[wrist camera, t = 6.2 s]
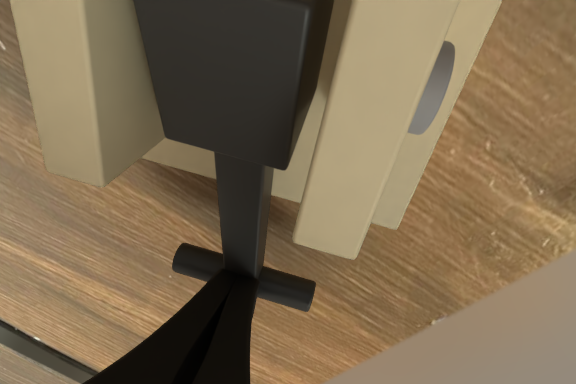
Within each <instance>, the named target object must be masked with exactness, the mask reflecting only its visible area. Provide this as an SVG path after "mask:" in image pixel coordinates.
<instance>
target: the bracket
mask: <svg viewBox="0 0 576 384" xmlns="http://www.w3.org/2000/svg"><path fill="white" fill-rule="evenodd" d="M501 2H502V0H334V4H333V9H332V14H331V19H330V24H329V29H328V34H327V39H326V44H325V49H324V54H323V59H322V64H321V69H320V74H319V79H318V84H317V89H316V91H315V94H314V97H313V100H312V102H311V105H310V108H309V111H308V113H307V116H306V119H305V122H304V124H303V127H302V130H301V133H300V136H299V138H298V141H297V144H296V147H295V149H294V152H293V155H292V158H291V160H290V163H289V166H288V168H287V169H286V170H285V171H282V170H278V169H275V168H274V173H273V182H272V191H271V195H273V196H277V197H281V198H284V199H288V200H291V201H295V202H298V203H301V204H300V208H299V212H298V215H297V219H296V223H295V227H294V231H293V235H292V239H293V242H294V243H296V244H299V245H302V246H306V247H309V248H313V249H316V250H319V251H323V252H326V253H330V254H333V255H337V256H340V257H344V258H347V259H350V260H354V259H355V258H356V257H357V256H358V253H359V251H360V249H361V246H362V244H363V241H364V239H365V236H366V234H367V231H368V229H369V226H370V224H371V223H373V224H377V225H380V226H384V227H387V228H391V229H394V230H396V229H397V228H398V226H399V224H400V222H401V220H402V218H403V216H404V213H405V211H406V209H407V207H408V205H409V203H410V200H411V198H412V196H413V194H414V192H415V189H416V187H417V185H418V183H419V181H420V179H421V176H422V174H423V172H424V170H425V168H426V166H427V163H428V161H429V159H430V157H431V155H432V153H433V150H434V148H435V146H436V144H437V142H438V139H439V137H440V135H441V133H442V131H443V129H444V126H445V124H446V122H447V120H448V118H449V116H450V113H451V111H452V109H453V107H454V105H455V102H456V100H457V98H458V96H459V94H460V92H461V89H462V87H463V85H464V83H465V81H466V79H467V76H468V74H469V72H470V70H471V68H472V65H473V63H474V61H475V59H476V57H477V55H478V52H479V50H480V48H481V46H482V44H483V42H484V39H485V37H486V35H487V33H488V31H489V29H490V26H491V24H492V22H493V20H494V18H495V15H496V13H497V11H498V9H499V7H500V5H501ZM10 5H11V10H12V14H13V19H14V24H15V28H16V33H17V38H18V42H19V47H20V52H21V56H22V61H23V66H24V70H25V75H26V80H27V84H28V89H29V94H30V98H31V103H32V108H33V112H34V117H35V122H36V126H37V131H38V135H39V140H40V145H41V149H42V154H43V159H44V163H45V168H46V170H47V171H48V172H49V173H53V174H56V175H59V176H63V177H66V178H70V179H73V180H77V181H80V182H83V183H87V184H90V185H94V186H97V187H105V186H106V185H107V184H109V183H110V182H111V181H112V180H114V179H115V178H116V177H117V176H119V175H120V174H121V173H122V172H124V171H125V170H126V169H127V168H129V167H130V166H131V165H132V164H134V163H135V162H136V161H137V160H139V159H140V158H142V159H146V160H149V161H153V162H156V163H160V164H163V165H167V166H170V167H174V168H177V169H181V170H185V171H188V172H192V173H195V174H199V175H202V176H206V177H209V178H213V179H216V169H215V157H214V152H213V151H209V150H206V149H202V148H199V147H195V146H191V145H188V144H184V143H180V142H177V141H173V140H170V139H167V138H166V137H165V135H164V131H163V126H162V122H161V118H160V113H159V109H158V105H157V101H156V96H155V92H154V88H153V83H152V79H151V75H150V70H149V66H148V62H147V57H146V53H145V49H144V45H143V40H142V36H141V32H140V27H139V23H138V19H137V14H136V10H135V6H134V2H133V0H10Z"/></svg>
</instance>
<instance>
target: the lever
mask: <svg viewBox="0 0 576 384" xmlns="http://www.w3.org/2000/svg"><path fill="white" fill-rule="evenodd" d="M133 2H134V6H135V10H136V14H137V19H138V23H139V27H140V32H141V36H142V40H143V45H144V49H145V53H146V57H147V62H148V66H149V70H150V75H151V79H152V83H153V88H154V92H155V96H156V101H157V105H158V109H159V113H160V118H161V122H162V126H163V131H164V135H165V137H166V138H167V139H170V140H173V141H177V142H180V143H184V144H188V145H191V146H195V147H199V148H202V149H206V150H209V151H213V152H214V157H215V169H216V180H217V192H218V203H219V215H220V226H221V238H222V250H223V254H221V253H218V252H215V251H211V250H208V249H205V248H201V247H198V246H194V245H191V244H188V243H182V244H181V245H180V246H179V248H178V249H177V251H176V253H175V256H174V259H173V264H172V269H173V271H174V272H177V273H180V274H183V275H187V276H190V277H193V278H196V279H200V280H203V281H206V282H208V281H209V280H210V279H211V278H212V277H213V275H214V274H215V273H216V272H217V271H218V270H219V269H221V268H223V269H225V270H227V271H230V272H234V273H237V274H240V275H244V276H247V277H250V278H256V279H258V280H259V282H260V285H259V289H258V294H257V297H259V298H262V299H265V300H269V301H272V302H275V303H278V304H282V305H285V306H288V307H292V308H295V309H298V310H301V311H305V312H308V311H309V309H310V306H311V303H312V299H313V296H314V291H315V287H316V282H314V281H312V280H309V279H305V278H302V277H299V276H295V275H292V274H289V273H285V272H282V271H279V270H275V269H272V268H268V267H265V266H263V263H264V254H265V245H266V236H267V227H268V218H269V209H270V200H271V191H272V182H273V173H274V168H275V169H278V170H282V171H285V170H286V169H287V168H288V166H289V163H290V160H291V158H292V155H293V152H294V149H295V147H296V144H297V141H298V138H299V136H300V133H301V130H302V127H303V124H304V122H305V119H306V116H307V113H308V111H309V108H310V105H311V102H312V100H313V97H314V94H315V91H316V89H317V84H318V79H319V74H320V69H321V64H322V59H323V54H324V49H325V44H326V39H327V34H328V29H329V24H330V19H331V14H332V9H333V4H334V0H133Z"/></svg>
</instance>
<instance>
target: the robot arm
mask: <svg viewBox="0 0 576 384" xmlns="http://www.w3.org/2000/svg"><path fill="white" fill-rule="evenodd" d="M259 285H260V282H259V280H258V279H256V278H250V277H247V276H244V275H240V274H237V273H234V272H230V271H227V270H225V269H223V268H221V269H219V270H218V271H217V272H216V273H215V274H214V275H213V277H212V278H211V279H210V280H209V281H208V282H207V283H206V284H205V285H204V286H203V288H202V289H201V290H200V291H199V292H198V293H197V294H196V295H195V296H194V297H193V298H192V299H191V300H190V301H189V302H188V303H186V304H185V305H184V306H183V307H182V308H181V309H180V310H179V311H178V312H177V313H176V314H175V315H174V316H173V317H171V318H170V319H169V320H168V321H167V322H166V323H164V324H163V325H162V326H161V327H160V328H159V329H157V330H156V331H155V332H154V333H153V334H152V335H150V336H149V337H148V338H147V339H145V340H144V341H143V342H142V343H140V344H139V345H138V346H136V347H135V348H134V349H132V350H131V351H130V352H128V353H127V354H126V355H124V356H123V357H121V358H120V359H119V360H117V361H116V362H114V363H113V364H111V365H110V366H108V367H107V368H106V369H104V370H103V371H101V372H100V373H98V374H97V375H95V376H94V377H92V378H91V379H89V380H87V381H86V382H84V383H83V384H250V337H251V322H252V318H253V313H254V309H255V304H256V299H257V294H258V289H259Z"/></svg>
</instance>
